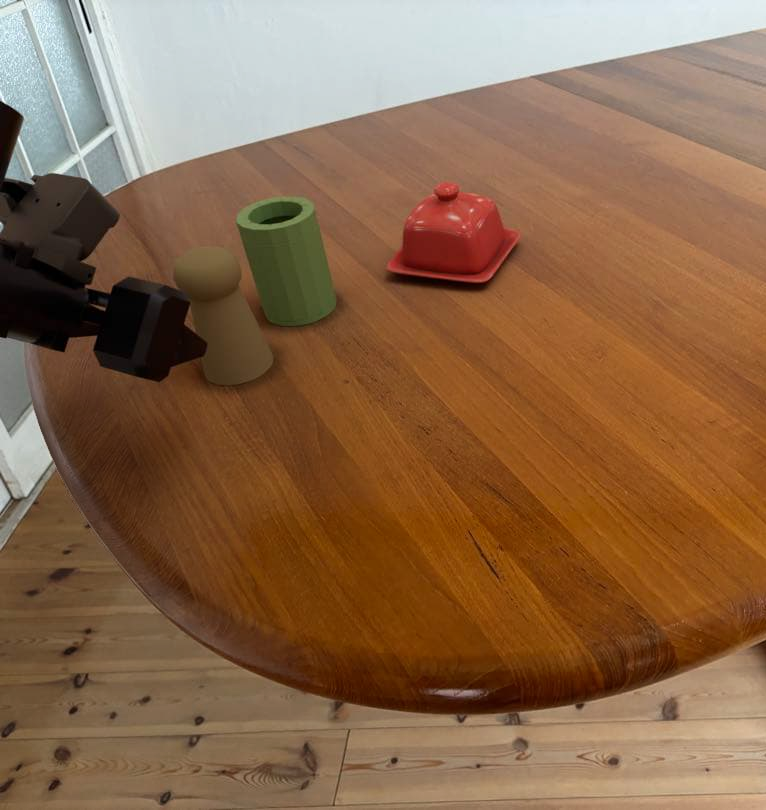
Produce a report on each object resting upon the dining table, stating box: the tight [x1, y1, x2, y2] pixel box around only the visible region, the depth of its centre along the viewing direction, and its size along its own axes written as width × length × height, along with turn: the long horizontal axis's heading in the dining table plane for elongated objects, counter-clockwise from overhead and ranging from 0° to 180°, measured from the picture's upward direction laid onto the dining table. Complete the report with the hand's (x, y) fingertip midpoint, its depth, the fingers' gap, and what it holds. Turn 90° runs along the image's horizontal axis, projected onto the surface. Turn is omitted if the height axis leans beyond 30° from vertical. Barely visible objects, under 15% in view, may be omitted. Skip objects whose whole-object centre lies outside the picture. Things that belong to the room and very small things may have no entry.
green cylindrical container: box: [235, 196, 338, 327], centre depth 77 cm, size 7×7×10 cm
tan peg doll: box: [172, 245, 275, 387], centre depth 69 cm, size 6×6×11 cm
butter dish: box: [385, 181, 521, 284], centre depth 83 cm, size 12×12×8 cm
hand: (160, 337), depth 64 cm, fingers open, 9 cm apart
